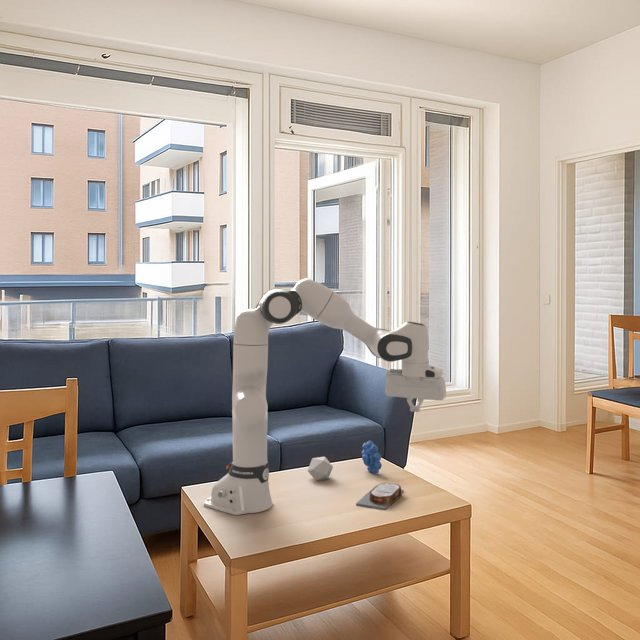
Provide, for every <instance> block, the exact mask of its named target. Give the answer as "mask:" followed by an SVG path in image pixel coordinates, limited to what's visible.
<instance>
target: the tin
mask: <svg viewBox="0 0 640 640" xmlns="http://www.w3.org/2000/svg"><path fill="white" fill-rule="evenodd" d="M375 486H376V487H375ZM375 486H374V487H375V488H374V487H373V488H374V489H373V488H371V490H370V491H369V492H370V498H369V500H370V501H371V502H372V503H376V504H391V503H392V504H393V503H394V502H395V501H397V500H398V498H400V497H401V496H402V493H401V489H402V486H401V485H400V484H398V483H391V482H382V483H379V484H378V485H375ZM392 504H391V505H392Z"/></svg>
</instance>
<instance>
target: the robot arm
mask: <svg viewBox="0 0 640 640" xmlns="http://www.w3.org/2000/svg"><path fill="white" fill-rule="evenodd" d="M300 312H301V313H303V314H306V315H307V316H309V317H310V318H312V319H313V320H316V321H317V322H318V323H320V324H321V325H322V324H323V325H325V326H326V327H329V328H332V329H337V330H342V331H345V332H346V333H349V334H350V335H351V336H353V337H355V338H357V340H359V341H360V342H363V343H364V345H365V346H366V347H367V349H368V350H369V352H370V354H372V355H373V356H374V357H376V358H378V359H381V360H383V361H386V362H390V363H391V362H392V363H393V362H397V361H401V368H400V369H399V368H398V369H397V368H396V369H394V368H390V369H388V370H387V371H386V372H385V380H386V381H385V389H384V390H385V395H386V396H387V397H391V398H392V397H393V398H406V402H407V404H408V406H409V411H410V412H413V413H414V412H416V413H419V412H420V411H421V406H422V404H423V403H424V400H430V401H431V400H433V401H443V400H444V399H445V398H446V396H447V388H446V387H447V385H446V382H445V379H444V377H442V376H443V374H444V371H443V369H441V368H439V367H436V366H433V365H430V363H429V362H430V361H429V357H428V356H429V355H428V353H429V348H430V344H429V343H430V341H429V332H428V328H427V326H426V325H425V324H423V323H420V322H416V321H404V323H403V324H401V325H400V326H398V327H395V328H394V329H392V330H388V329H385V328H378V327H374V326H372V325H371V324H370V323H368V322H366V321H365V320H364V319H362V318H360V317H359V316H357V315H356V314H355V312H353V310H352V307H351V306H350V304H349V302H348V301H347V300H346V299H344V297H342V296H341V295H340V294H338V293H337V292H336V291H334V290H333V289H331V288H330V287H327V286H326V285H324V284H322V283H320V282H317V281H316V280H313V279H311V278H302V279H300V280H299V281H298V282H296V283H295V285H294V287H292V289H291V290H290V289H283V288H279V287H278V288H277V287H275V288H271V289H269V290H267V291H266V292H264V293H263V294H262V296H261V298H259V300H258V303H257V305H256V306H255V308H247V309H244V310H241V311H240V312H239V313H238V314H237V316H236V321H235V325H234V330H233V345H232V346H233V350H232V351H233V352H232V354H233V355H232V357H233V358H232V389H231V390H232V394H231V395H232V396H231V401H232V402H231V403H232V404H231V408H232V409H231V413H232V414H231V415H232V419H231V420H232V461H231V462H229V464H227V465H226V466H225V467H226V468H225V470H228V469H229V470H228V473H226V474H225V475H224V476H223V477H221V478H220V479H219V480H217V481H216V482H215V483H214V485H213V486H212V489H211V494H210V496H209V497H207V498H206V499H205V500H204V503H203V506H205V507H207V508H210V509H213V510H217V511H220V512H223V513H227V514H230V515H233V516H240V515H244V514H254V513H260V512H264V511H267V510H269V509H270V508H272V507H273V505H274V503H273V500H272V497H271V491H270V487H269V486H270V483H269V476H270V471H269V470H270V469H269V468H270V467H269V466H270V465H269V461H268V423H269V422H268V417H269V416H268V408H269V407H268V401H267V379H268V359H269V355H268V354H269V332H270V328H271V326H272V325H274V324H275V325H281V324H282V325H283V324H286V323H288V322H289V321H291V320H292V319H294V317H295V316H296V315H298V314H299V313H300ZM414 399H417V405H414V403H413V400H414Z"/></svg>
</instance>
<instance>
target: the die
mask: <svg viewBox="0 0 640 640" xmlns="http://www.w3.org/2000/svg"><path fill="white" fill-rule="evenodd" d="M333 468H334V465H333V464H331V462H330V461H329V460H328V458H327V457H326V456H320V457H319V456H317V457H313V458H311V460H310V464H309V466H308V469H307V472H308V473H309V475H310V476H311V477H312V478H313V479H314V481H317V482H318V481H324V480H329V479H330V476H331V473H332V470H333Z"/></svg>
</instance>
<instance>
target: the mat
mask: <svg viewBox="0 0 640 640" xmlns="http://www.w3.org/2000/svg"><path fill="white" fill-rule="evenodd" d="M376 486H377V485H375V486H373V488H372V489H374V488H375V487H376ZM402 493H404V489H402V488H401V494H402ZM369 498H370V491H368V492H367V493H366V494H365V495H364V496H363V497H362V498H360V499H358V501H357V502H356V503H355V506H358V507H363V508H364V507H366V508H370V509H371V508H372V509H378V510H383V511H384V510H387V509H388V508H389V507H390V505H392V504H393V503H391V504H376V503H372V502H371V501H370V500H369Z"/></svg>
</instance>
